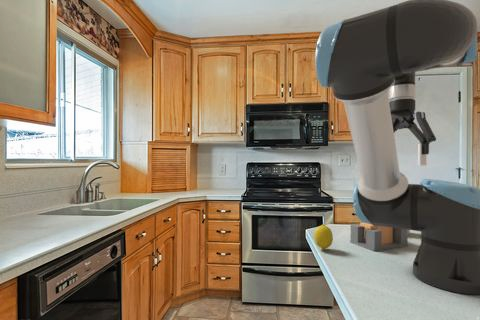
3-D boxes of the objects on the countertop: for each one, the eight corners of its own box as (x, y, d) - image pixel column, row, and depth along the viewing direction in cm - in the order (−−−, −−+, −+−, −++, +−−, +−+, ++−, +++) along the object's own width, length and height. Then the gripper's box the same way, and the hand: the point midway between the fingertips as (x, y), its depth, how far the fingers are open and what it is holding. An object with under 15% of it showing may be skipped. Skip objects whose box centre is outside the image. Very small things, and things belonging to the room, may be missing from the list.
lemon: (310, 248, 88) (310, 223, 88) (325, 246, 90) (325, 222, 90) (321, 253, 83) (321, 227, 83) (336, 251, 85) (336, 225, 85)
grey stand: (408, 245, 91) (408, 227, 91) (374, 251, 85) (374, 231, 85) (382, 237, 100) (382, 221, 100) (350, 242, 95) (350, 224, 95)
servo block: (398, 241, 93) (398, 211, 93) (371, 245, 88) (371, 214, 88) (385, 237, 97) (385, 209, 97) (359, 241, 93) (359, 211, 93)
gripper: (450, 92, 80) (450, 165, 80) (378, 107, 103) (378, 164, 103) (433, 90, 77) (432, 165, 77) (363, 106, 100) (363, 164, 100)
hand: (401, 165), depth 90 cm, fingers open, 13 cm apart
